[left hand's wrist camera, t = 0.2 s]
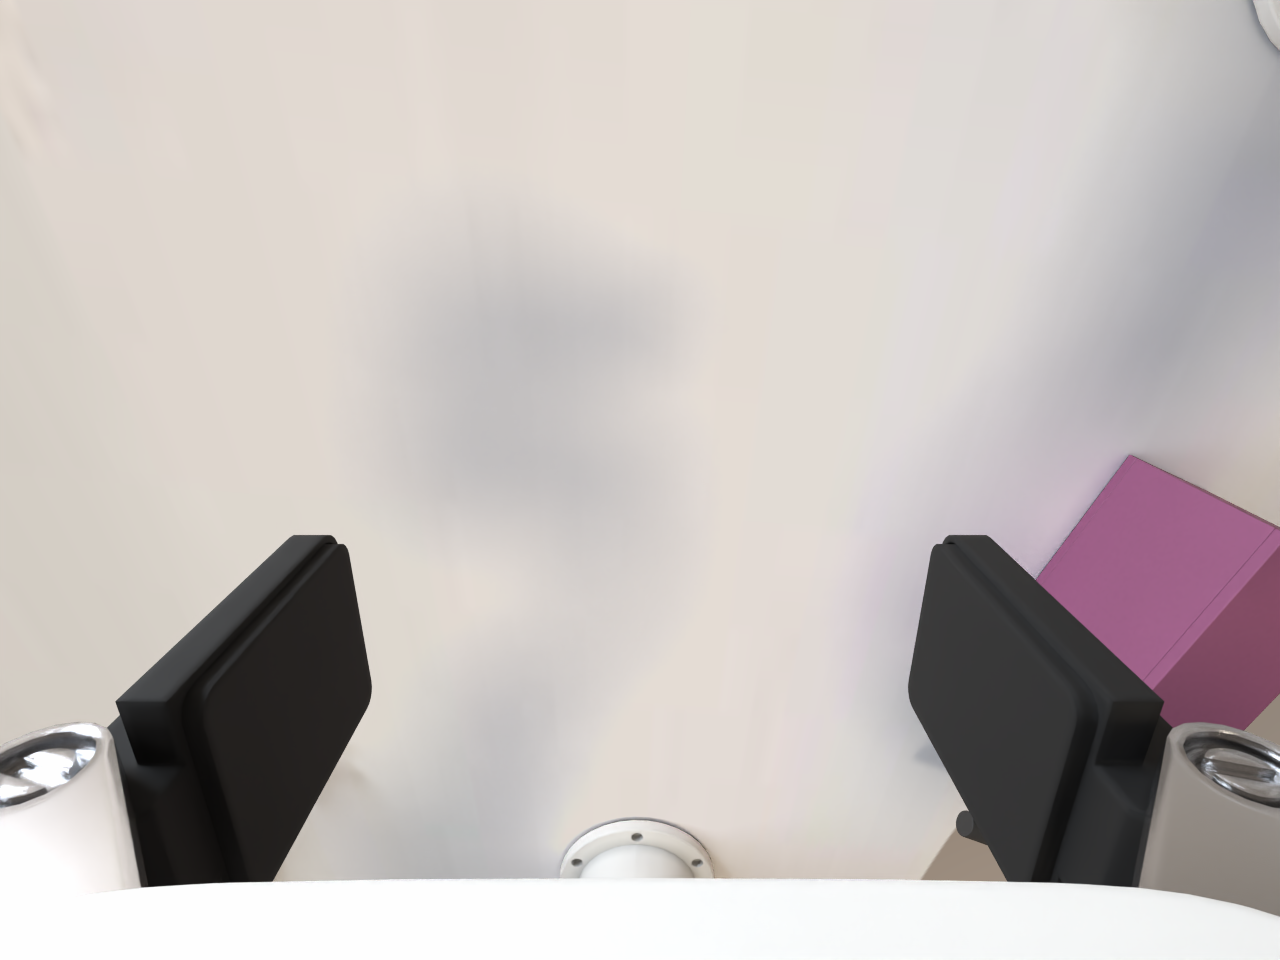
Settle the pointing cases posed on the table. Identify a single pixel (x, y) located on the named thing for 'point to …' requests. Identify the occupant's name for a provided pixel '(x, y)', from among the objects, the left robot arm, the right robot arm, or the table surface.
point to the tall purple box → (1178, 593)
